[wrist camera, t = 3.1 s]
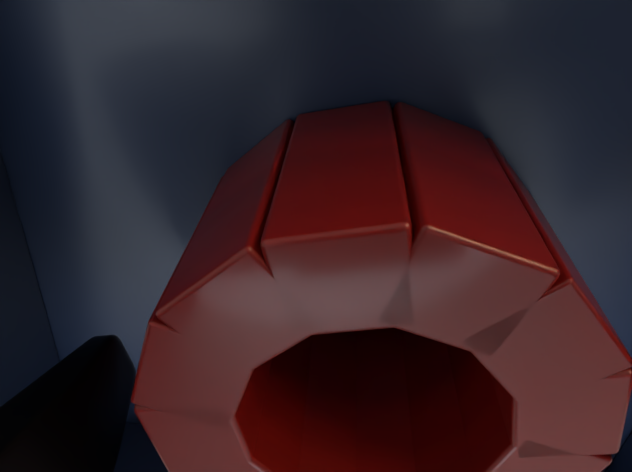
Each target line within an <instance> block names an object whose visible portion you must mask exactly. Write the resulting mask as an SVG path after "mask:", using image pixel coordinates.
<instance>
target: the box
mask: <svg viewBox="0 0 632 472" xmlns="http://www.w3.org/2000/svg"><path fill="white" fill-rule="evenodd" d="M379 101H389V103H390V104H391V108H392V110H393V108H394V106H395V104H396V103H397V102H403V103H406V104H408V105H411V106H414V107H416V108H419V109H422V110H424V111H427V112H430V113H432V114H435V115H438V116H440V117H443V118H446V119H448V120H451V121H454V122H456V123H459V124H462V125H464V126H467V127H469V128H472V129H475V130H477V131H480V132H481V133H482V134H483V135H484V137H485V139H486V138H491V139H492V141H493V142H494V143H495V145H496V146H497V148H498V149H499V150H500V152H501V153H502V155H503V156H504V158H505V159H506V160H507V162H508V163H509V165H510V166H511V167H512V169H513V170H514V172H515V173H516V174H517V176H518V177H519V179H520V180H521V181H522V183H523V184H524V186H525V187H526V189H527V190H528V191H529V193H530V194H531V196H532V197H533V198H534V200H535V201H536V203H537V205H538V206H539V208H540V210H541V211H542V213H543V214H544V216H545V218H546V219H547V221H548V223H549V224H550V226H551V227H552V229H553V231H554V232H555V234H556V236H557V237H558V239H559V240H560V242H561V244H562V245H563V247H564V249H565V250H566V252H567V253H568V255H569V257H570V258H571V260H572V262H573V263H574V265H575V266H576V268H577V270H578V271H579V273H580V275H581V276H582V278H583V279H584V281H585V283H586V284H587V286H588V288H589V289H590V291H591V292H592V294H593V296H594V297H595V299H596V301H597V302H598V304H599V305H600V307H601V309H602V310H603V312H604V314H605V315H606V317H607V318H608V320H609V322H610V323H611V325H612V327H613V328H614V330H615V331H616V333H617V335H618V336H619V338H620V340H621V341H622V343H623V344H624V346H625V348H626V349H627V351H628V353H629V354H630V356H631V357H632V0H0V407H1V406H2V405H3V404H5V403H6V402H7V401H9V400H10V399H11V398H13V397H14V396H15V395H17V394H18V393H19V392H20V391H22V390H23V389H24V388H26V387H27V386H28V385H30V384H31V383H32V382H34V381H35V380H36V379H38V378H39V377H40V376H42V375H43V374H44V373H45V372H47V371H48V370H49V369H51V368H52V367H53V366H55V365H56V364H57V363H59V362H60V361H61V360H63V359H64V358H65V357H67V356H68V355H69V354H70V353H72V352H73V351H74V350H76V349H77V348H78V347H80V346H81V345H82V344H84V343H85V342H86V341H88V340H89V339H90V338H92V337H95V336H101V335H116V336H118V337H119V338H120V340H121V341H122V343H123V345H124V347H125V349H126V351H127V353H128V355H129V356H130V358H131V360H132V362H133V364H134V366H135V370H136V373H137V369H138V364H139V360H140V355H141V351H142V346H143V342H144V337H145V333H146V329H147V324H148V321H149V319H150V317H151V315H152V313H153V311H154V309H155V307H156V305H157V303H158V301H159V299H160V297H161V295H162V293H163V291H164V289H165V288H166V286H167V284H168V282H169V280H170V278H171V276H172V274H173V272H174V270H175V268H176V266H177V264H178V262H179V260H180V258H181V256H182V254H183V252H184V250H185V248H186V246H187V244H188V242H189V240H190V238H191V236H192V234H193V232H194V230H195V228H196V226H197V224H198V223H199V221H200V219H201V217H202V215H203V213H204V211H205V209H206V207H207V205H208V203H209V201H210V199H211V197H212V195H213V193H214V191H215V189H216V187H217V185H218V183H219V181H220V179H221V178H222V176H224V175H225V173H226V171H227V169H228V168H229V167H230V166H232V165H233V164H234V163H235V162H236V161H238V160H239V159H240V158H241V157H242V156H244V155H245V154H246V153H247V152H248V151H250V150H251V149H252V148H253V147H254V146H256V145H257V144H258V143H259V142H260V141H262V140H263V139H264V138H265V137H266V136H268V135H269V134H270V133H271V132H272V131H274V130H275V129H276V128H277V127H278V126H280V125H281V124H282V123H283V122H284V121H286V120H288V119H290V120H292V121H293V122H294V123H295V121H296V117H297V116H298V115H300V114H305V113H311V112H317V111H323V110H329V109H336V108H342V107H348V106H354V105H360V104H367V103H373V102H379ZM134 406H135V404H133V403H132V402H130V406H129V411H128V415H127V420H126V424H125V429H124V433H123V437H122V442H121V446H120V450H119V454H118V458H117V461H116V465H115V468H114V471H113V472H168V470H167V469H166V467H165V465H164V463H163V462H162V460H161V458H160V456H159V455H158V453H157V451H156V449H155V447H154V446H153V444H152V442H151V440H150V439H149V437H148V435H147V433H146V432H145V430H144V428H143V426H142V425H141V423H140V421H139V419H138V418H137V416H136V414H135V412H134ZM611 455H612V462H611V464H610V465H608V466H607V467H606V468H605V469H604V470H603V471H601V472H632V390H631V395H630V400H629V405H628V410H627V415H626V420H625V424H624V429H623V434H622V439H621V444H620V449H619V451H618V452H617V453H615V454H611Z"/></svg>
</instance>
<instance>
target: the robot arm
mask: <svg viewBox="0 0 632 472" xmlns="http://www.w3.org/2000/svg"><path fill="white" fill-rule="evenodd" d="M135 377H136V370H135V366H134V364H133V362H132V360H131V358H130V356H129V355H128V353H127V351H126V349H125V347H124V345H123V343H122V341H121V340H120V338H119V337H118V336H116V335H101V336H95V337H92V338H90V339H89V340H88V341H86V342H85V343H84V344H82V345H81V346H80V347H78V348H77V349H76V350H74V351H73V352H72V353H70V354H69V355H68V356H67V357H65V358H64V359H63V360H61V361H60V362H59V363H57V364H56V365H55V366H53V367H52V368H51V369H49V370H48V371H47V372H45V373H44V374H43V375H42V376H40V377H39V378H38V379H36V380H35V381H34V382H32V383H31V384H30V385H28V386H27V387H26V388H24V389H23V390H22V391H20V392H19V393H18V394H17V395H15V396H14V397H13V398H11V399H10V400H9V401H7V402H6V403H5V404H3V405H2V406H1V407H0V472H113V471H114V468H115V465H116V461H117V458H118V454H119V450H120V446H121V442H122V437H123V433H124V429H125V424H126V420H127V415H128V411H129V406H130V402H131V395H132V391H133V386H134V382H135Z"/></svg>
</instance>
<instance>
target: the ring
mask: <svg viewBox="0 0 632 472" xmlns="http://www.w3.org/2000/svg"><path fill="white" fill-rule="evenodd" d="M631 390H632V357H631V356H630V354H629V353H628V351H627V349H626V348H625V346H624V344H623V343H622V341H621V340H620V338H619V336H618V335H617V333H616V331H615V330H614V328H613V327H612V325H611V323H610V322H609V320H608V318H607V317H606V315H605V314H604V312H603V310H602V309H601V307H600V305H599V304H598V302H597V301H596V299H595V297H594V296H593V294H592V292H591V291H590V289H589V288H588V286H587V284H586V283H585V281H584V279H583V278H582V276H581V275H580V273H579V271H578V270H577V268H576V266H575V265H574V263H573V262H572V260H571V258H570V257H569V255H568V253H567V252H566V250H565V249H564V247H563V245H562V244H561V242H560V240H559V239H558V237H557V236H556V234H555V232H554V231H553V229H552V227H551V226H550V224H549V223H548V221H547V219H546V218H545V216H544V214H543V213H542V211H541V210H540V208H539V206H538V205H537V203H536V201H535V200H534V198H533V197H532V196H531V194H530V193H529V191H528V190H527V189H526V187H525V186H524V184H523V183H522V181H521V180H520V179H519V177H518V176H517V174H516V173H515V172H514V170H513V169H512V167H511V166H510V165H509V163H508V162H507V160H506V159H505V158H504V156H503V155H502V153H501V152H500V150H499V149H498V148H497V146H496V145H495V143H494V142H493V141H492V139H491V138H486V139H485V137H484V135H483V134H482V133H481V132H480V131H477V130H475V129H472V128H469V127H467V126H464V125H462V124H459V123H456V122H454V121H451V120H448V119H446V118H443V117H440V116H438V115H435V114H432V113H430V112H427V111H424V110H422V109H419V108H416V107H414V106H411V105H408V104H406V103H403V102H397V103H396V104H395V106H394V108H393V110H392V108H391V104H390V103H389V101H379V102H373V103H367V104H360V105H354V106H348V107H342V108H336V109H329V110H323V111H317V112H311V113H305V114H300V115H298V116H297V117H296V121H295V123H294V122H293V121H292V120H290V119H288V120H286V121H284V122H283V123H282V124H281V125H280V126H278V127H277V128H276V129H275V130H274V131H272V132H271V133H270V134H269V135H268V136H266V137H265V138H264V139H263V140H262V141H260V142H259V143H258V144H257V145H256V146H254V147H253V148H252V149H251V150H250V151H248V152H247V153H246V154H245V155H244V156H242V157H241V158H240V159H239V160H238V161H236V162H235V163H234V164H233V165H232V166H230V167H229V168H228V169H227V171H226V173H225V175H224V176H222V178H221V179H220V181H219V183H218V185H217V187H216V189H215V191H214V193H213V195H212V197H211V199H210V201H209V203H208V205H207V207H206V209H205V211H204V213H203V215H202V217H201V219H200V221H199V223H198V224H197V226H196V228H195V230H194V232H193V234H192V236H191V238H190V240H189V242H188V244H187V246H186V248H185V250H184V252H183V254H182V256H181V258H180V260H179V262H178V264H177V266H176V268H175V270H174V272H173V274H172V276H171V278H170V280H169V282H168V284H167V286H166V288H165V289H164V291H163V293H162V295H161V297H160V299H159V301H158V303H157V305H156V307H155V309H154V311H153V313H152V315H151V317H150V319H149V321H148V324H147V329H146V333H145V337H144V342H143V346H142V351H141V355H140V360H139V364H138V369H137V373H136V377H135V382H134V386H133V391H132V395H131V402H132V403H133V404H135V406H134V412H135V414H136V416H137V418H138V419H139V421H140V423H141V425H142V426H143V428H144V430H145V432H146V433H147V435H148V437H149V439H150V440H151V442H152V444H153V446H154V447H155V449H156V451H157V453H158V455H159V456H160V458H161V460H162V462H163V463H164V465H165V467H166V469H167V470H168V472H601V471H603V470H604V469H605V468H606V467H607V466H608V465H610V464H611V462H612V455H611V454H615V453H617V452H618V451H619V449H620V444H621V439H622V434H623V429H624V424H625V420H626V415H627V410H628V405H629V400H630V395H631Z"/></svg>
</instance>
